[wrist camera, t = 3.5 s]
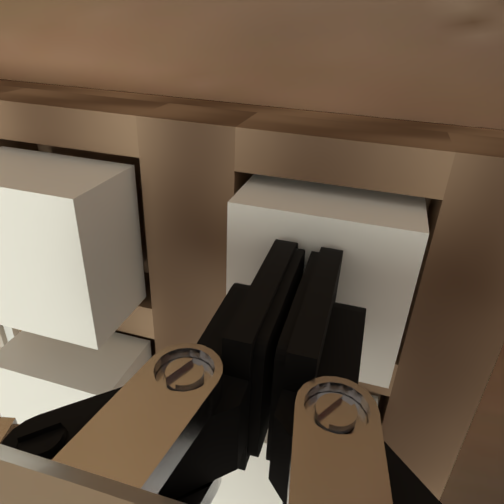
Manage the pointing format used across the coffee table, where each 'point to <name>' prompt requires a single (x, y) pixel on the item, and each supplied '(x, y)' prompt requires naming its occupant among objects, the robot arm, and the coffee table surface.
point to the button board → (313, 170)
